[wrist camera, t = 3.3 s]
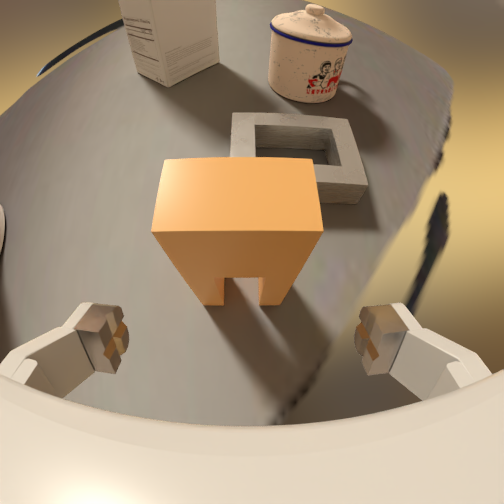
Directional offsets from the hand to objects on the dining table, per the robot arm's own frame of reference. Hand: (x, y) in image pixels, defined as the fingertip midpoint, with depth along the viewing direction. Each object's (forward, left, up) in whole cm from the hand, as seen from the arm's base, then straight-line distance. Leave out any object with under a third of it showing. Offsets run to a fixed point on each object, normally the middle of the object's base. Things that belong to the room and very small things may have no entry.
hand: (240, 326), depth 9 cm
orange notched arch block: (+2, +4, -11) cm, 11 cm away
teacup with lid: (+21, +24, -11) cm, 33 cm away
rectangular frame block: (+11, +12, -11) cm, 19 cm away
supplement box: (+7, +36, -11) cm, 38 cm away
